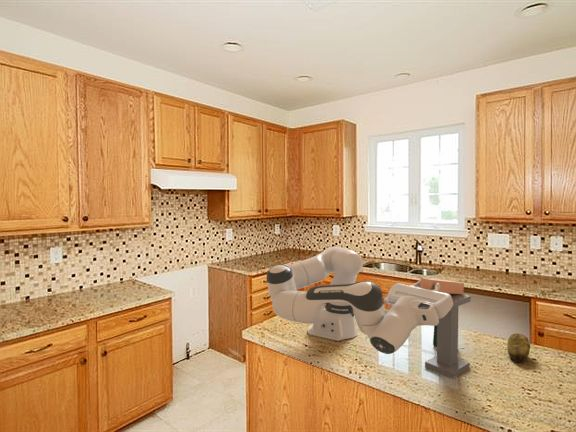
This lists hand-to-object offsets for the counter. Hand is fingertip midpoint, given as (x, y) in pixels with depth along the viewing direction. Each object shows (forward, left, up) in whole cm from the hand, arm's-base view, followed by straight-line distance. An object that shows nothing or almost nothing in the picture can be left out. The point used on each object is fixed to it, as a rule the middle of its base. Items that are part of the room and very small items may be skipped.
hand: (430, 283), depth 111 cm
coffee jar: (+7, +29, -32) cm, 44 cm away
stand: (+6, +10, -32) cm, 34 cm away
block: (+4, +7, -4) cm, 9 cm away
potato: (+32, +28, -32) cm, 54 cm away
